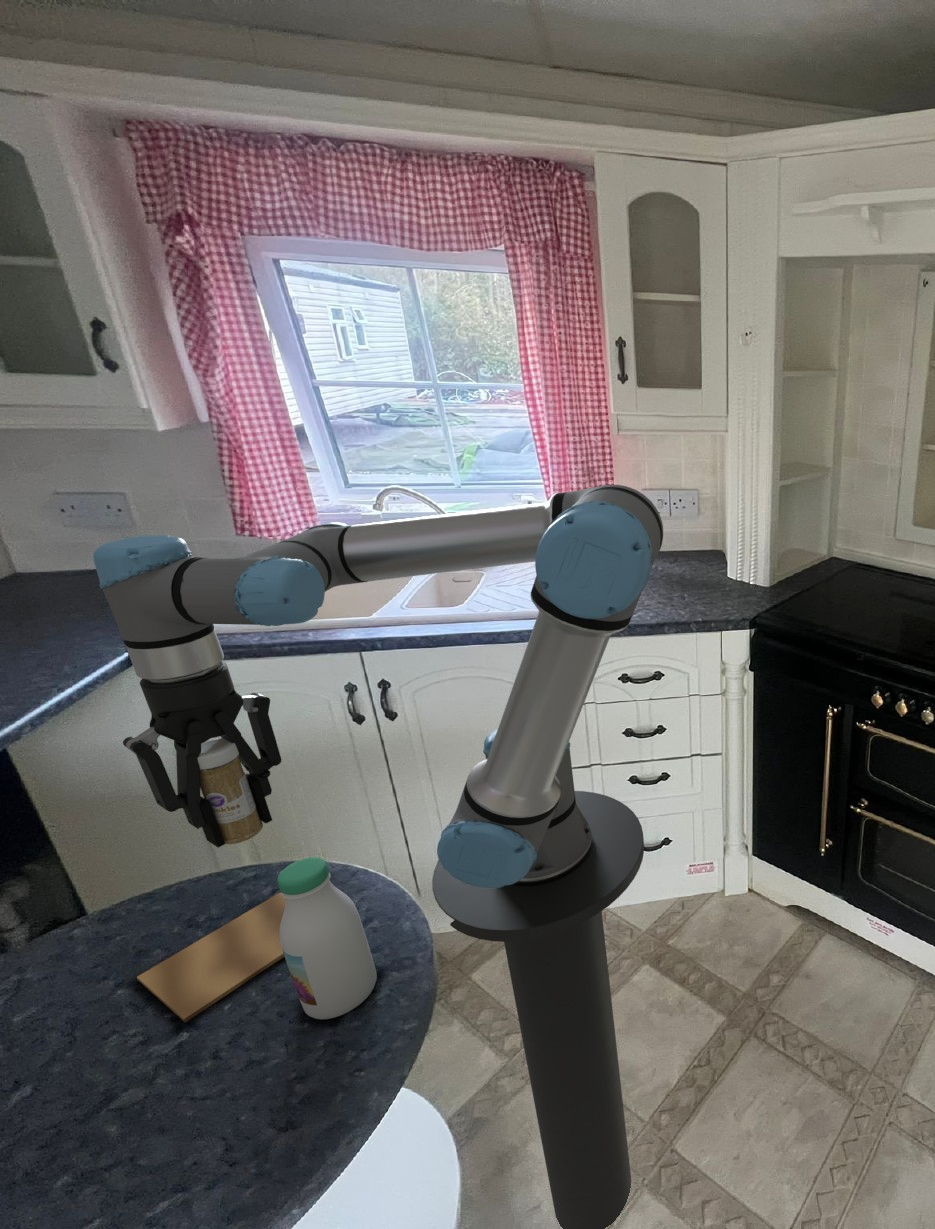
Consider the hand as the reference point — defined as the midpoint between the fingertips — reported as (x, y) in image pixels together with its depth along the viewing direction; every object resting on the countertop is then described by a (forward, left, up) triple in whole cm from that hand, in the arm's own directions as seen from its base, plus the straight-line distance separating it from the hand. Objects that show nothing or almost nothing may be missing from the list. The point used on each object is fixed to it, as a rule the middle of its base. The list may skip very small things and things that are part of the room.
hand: (240, 829), depth 85 cm
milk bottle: (+1, +18, -17) cm, 25 cm away
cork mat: (+4, 0, -17) cm, 18 cm away
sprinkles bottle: (0, 0, -1) cm, 1 cm away
